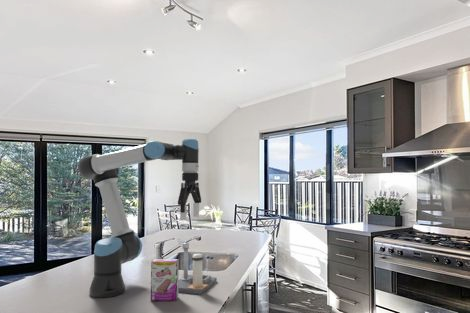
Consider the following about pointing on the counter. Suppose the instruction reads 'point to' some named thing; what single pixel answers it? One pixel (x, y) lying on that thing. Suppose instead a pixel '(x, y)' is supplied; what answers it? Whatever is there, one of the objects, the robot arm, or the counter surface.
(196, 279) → the clear cream cylinder
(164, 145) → the robot arm
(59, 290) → the counter surface
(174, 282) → the candy bar box
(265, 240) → the counter surface
